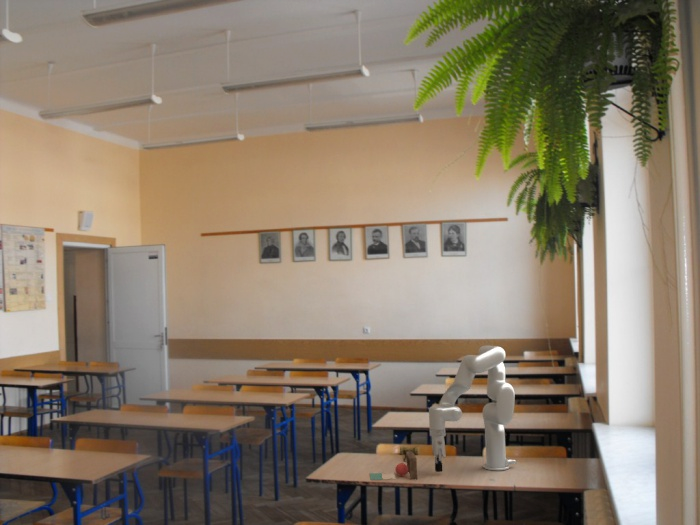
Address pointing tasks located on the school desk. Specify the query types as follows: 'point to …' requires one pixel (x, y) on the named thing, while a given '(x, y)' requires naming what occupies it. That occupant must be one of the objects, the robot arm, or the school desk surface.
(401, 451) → the gavel
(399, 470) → the ball
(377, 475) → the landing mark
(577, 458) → the school desk surface
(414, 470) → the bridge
